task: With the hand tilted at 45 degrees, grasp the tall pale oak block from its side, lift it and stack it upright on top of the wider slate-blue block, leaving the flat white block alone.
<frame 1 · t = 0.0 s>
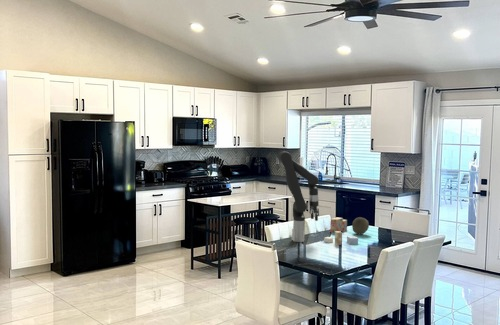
hand: (314, 219, 391), 17 cm above the table, tool pointing down, fingers open, 8 cm apart
cantaloupe: (360, 234, 422), on the table
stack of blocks: (338, 231, 434), on the table
oak block: (338, 244, 381), on the table
white flat block: (328, 242, 389), on the table
blue base block: (352, 243, 386), on the table
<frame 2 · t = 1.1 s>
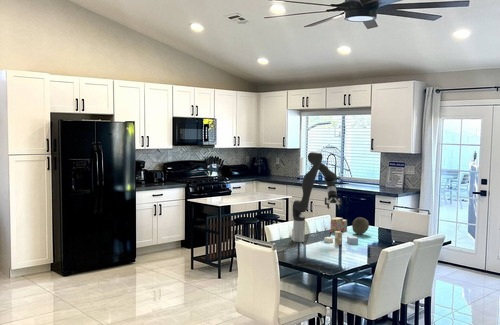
hand: (334, 208, 393), 27 cm above the table, tool tilted 45°, fingers open, 8 cm apart
nothing on the table moved.
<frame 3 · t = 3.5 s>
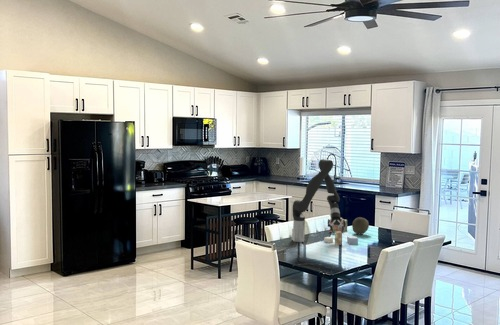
hand: (337, 230, 385), 10 cm above the table, tool tilted 45°, fingers open, 8 cm apart
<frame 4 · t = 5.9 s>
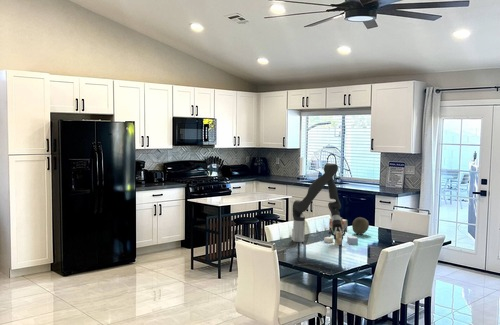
hand: (338, 239, 379), 4 cm above the table, tool tilted 45°, fingers closed on oak block, 4 cm apart
oak block: (338, 244, 381), on the table, touching gripper
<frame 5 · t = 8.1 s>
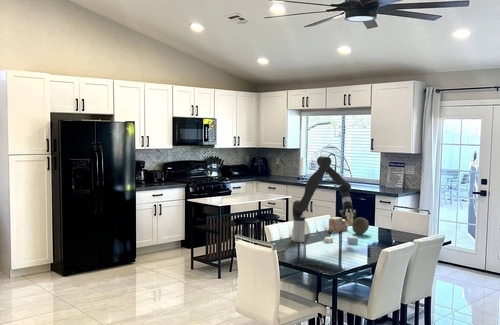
hand: (349, 220, 382), 19 cm above the table, tool tilted 45°, fingers closed on oak block, 4 cm apart
oak block: (349, 225, 384), point 15 cm above the table, touching gripper
when the fingers open (11 cm above the table, at t = 10.6 s): oak block drops 2 cm, resting on blue base block.
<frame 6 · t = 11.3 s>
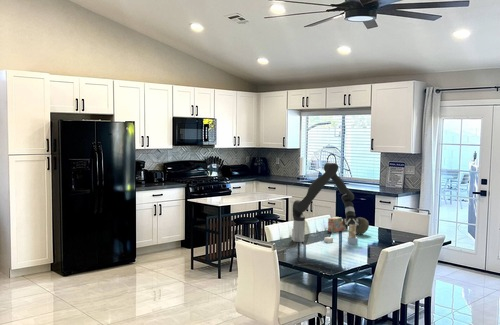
hand: (352, 229, 384), 11 cm above the table, tool tilted 45°, fingers open, 8 cm apart
oak block: (352, 237, 386), point 5 cm above the table, touching blue base block
blue base block: (352, 243, 386), on the table, touching oak block
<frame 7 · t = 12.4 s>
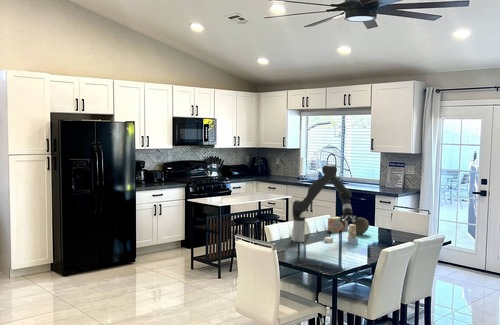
hand: (349, 226, 396), 12 cm above the table, tool tilted 45°, fingers open, 8 cm apart
oak block: (352, 237, 386), point 5 cm above the table
blue base block: (352, 243, 386), on the table
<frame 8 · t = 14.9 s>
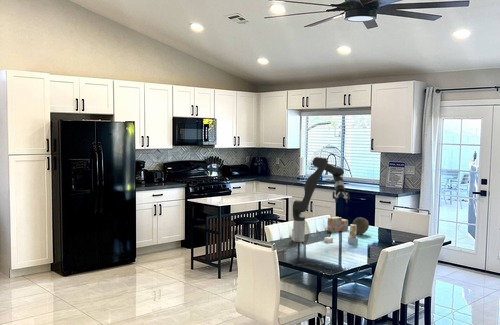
hand: (341, 202, 401), 31 cm above the table, tool tilted 45°, fingers open, 8 cm apart
at the end: oak block 0.3 cm off-centre on the blue base block, point 5.1 cm above the blue base block's base; oak block tilted 1°; the gripper is holding nothing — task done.
